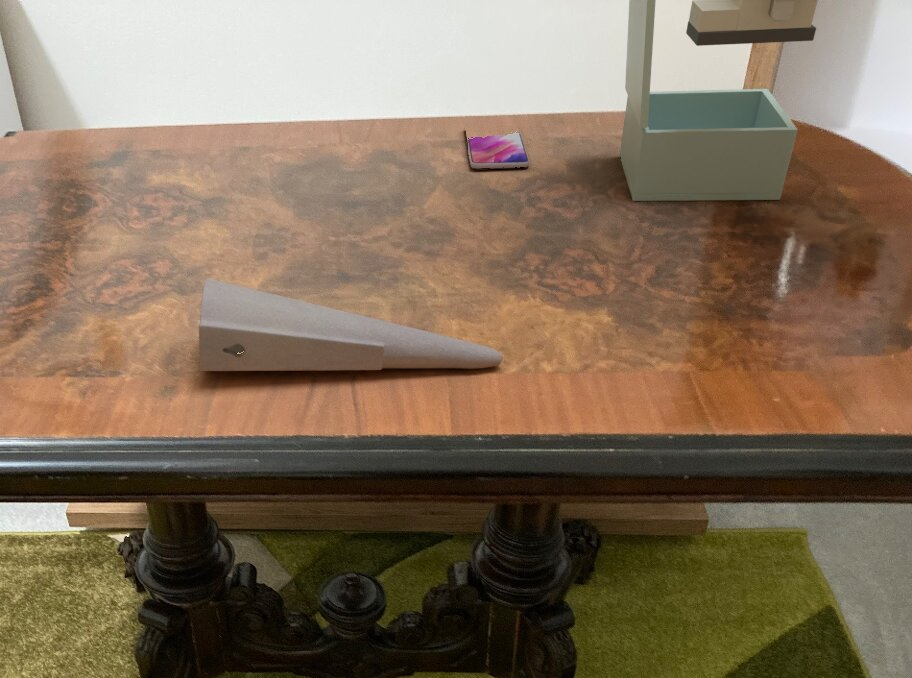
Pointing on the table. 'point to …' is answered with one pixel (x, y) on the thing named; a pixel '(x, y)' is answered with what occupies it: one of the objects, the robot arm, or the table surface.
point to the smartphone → (498, 151)
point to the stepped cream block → (748, 22)
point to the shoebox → (708, 146)
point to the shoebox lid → (640, 57)
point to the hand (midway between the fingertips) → (769, 11)
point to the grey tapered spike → (316, 337)
